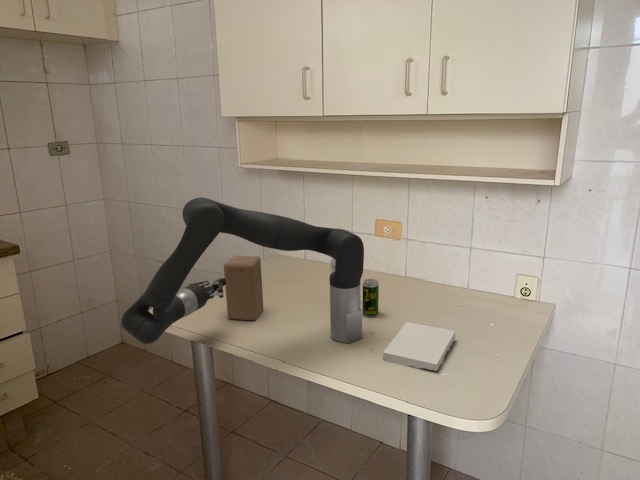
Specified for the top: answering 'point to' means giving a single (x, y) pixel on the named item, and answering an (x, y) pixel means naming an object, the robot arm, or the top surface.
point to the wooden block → (243, 287)
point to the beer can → (370, 298)
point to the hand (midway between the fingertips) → (223, 281)
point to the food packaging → (419, 346)
